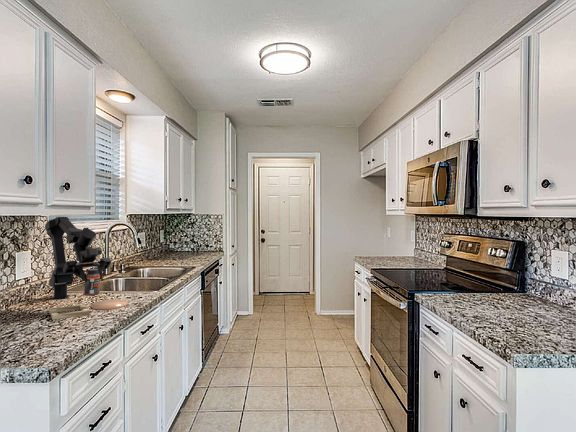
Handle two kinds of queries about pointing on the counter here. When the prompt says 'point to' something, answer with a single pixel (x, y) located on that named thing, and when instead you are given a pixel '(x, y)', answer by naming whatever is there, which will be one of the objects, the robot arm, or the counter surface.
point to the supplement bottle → (92, 283)
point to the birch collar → (71, 314)
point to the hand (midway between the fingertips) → (93, 280)
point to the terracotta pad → (109, 304)
